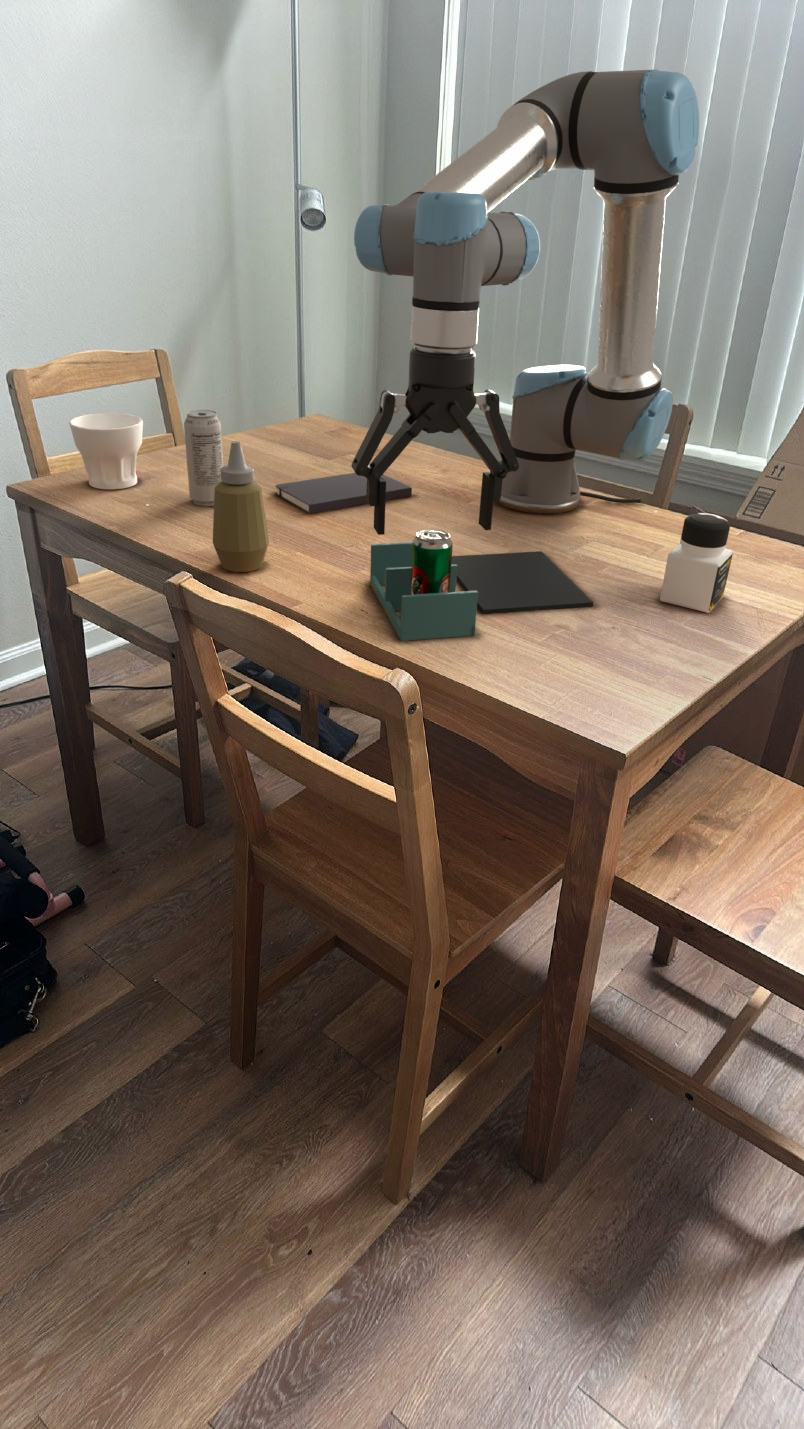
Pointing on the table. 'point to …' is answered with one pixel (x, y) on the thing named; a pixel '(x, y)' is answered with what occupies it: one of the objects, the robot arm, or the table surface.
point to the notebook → (335, 492)
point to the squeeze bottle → (239, 516)
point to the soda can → (431, 562)
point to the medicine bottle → (698, 564)
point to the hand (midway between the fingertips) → (432, 529)
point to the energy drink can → (203, 455)
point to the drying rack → (419, 598)
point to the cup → (108, 448)
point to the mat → (517, 582)
